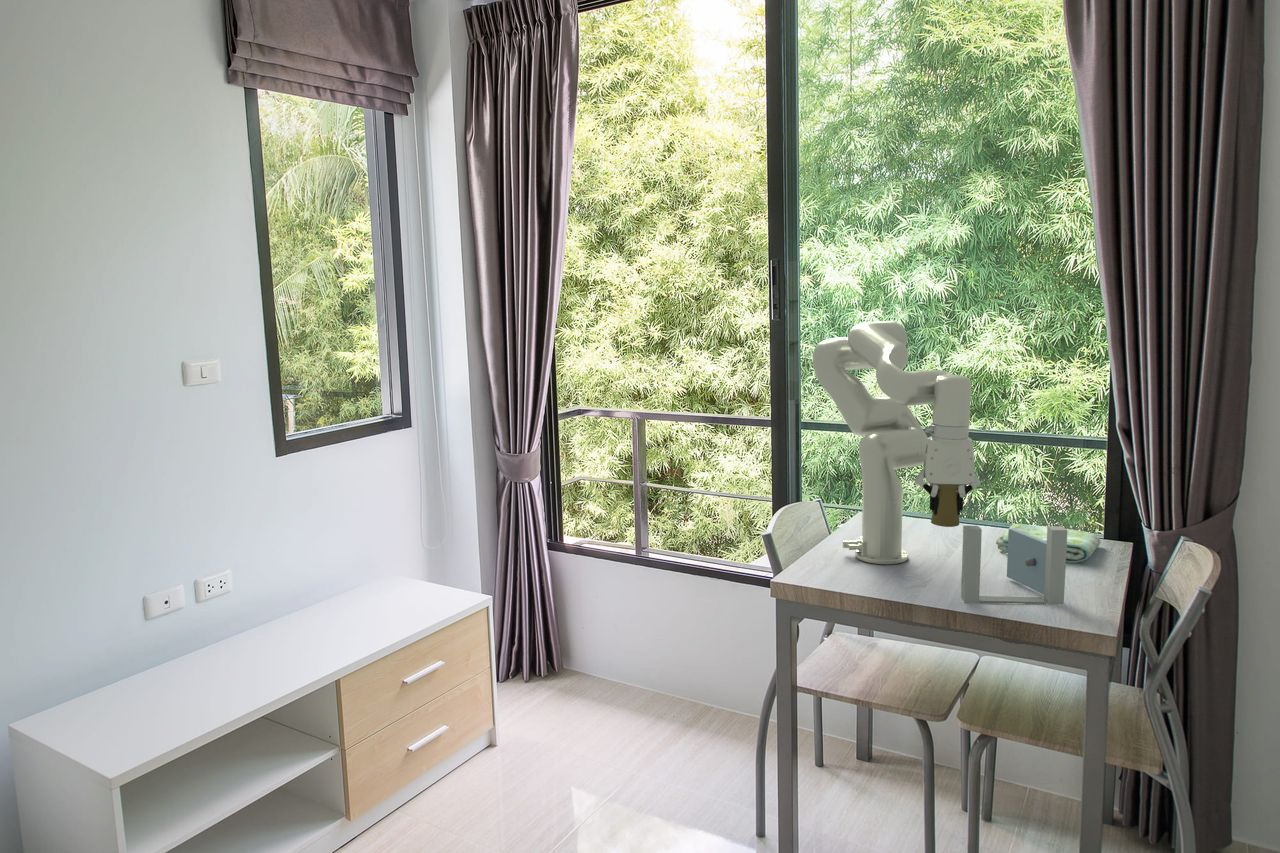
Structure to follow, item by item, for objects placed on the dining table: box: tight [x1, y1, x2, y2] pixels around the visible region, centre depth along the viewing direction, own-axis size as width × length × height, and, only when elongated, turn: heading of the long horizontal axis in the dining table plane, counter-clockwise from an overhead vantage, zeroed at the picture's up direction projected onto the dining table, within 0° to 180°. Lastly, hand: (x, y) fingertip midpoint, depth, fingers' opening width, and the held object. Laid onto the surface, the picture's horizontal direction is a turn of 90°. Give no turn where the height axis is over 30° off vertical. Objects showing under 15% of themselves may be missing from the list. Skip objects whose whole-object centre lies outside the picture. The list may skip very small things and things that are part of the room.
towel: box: [995, 523, 1101, 564], centre depth 223 cm, size 18×21×5 cm
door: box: [1006, 528, 1047, 596], centre depth 194 cm, size 13×3×11 cm, turn 13°
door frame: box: [960, 525, 1068, 605], centre depth 187 cm, size 20×3×16 cm, turn 83°
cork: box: [930, 484, 960, 528], centre depth 196 cm, size 6×6×11 cm
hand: (945, 512), depth 197 cm, fingers closed on cork, 4 cm apart
